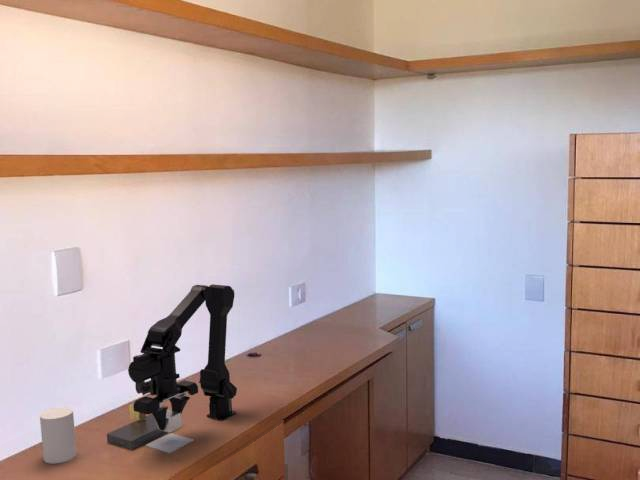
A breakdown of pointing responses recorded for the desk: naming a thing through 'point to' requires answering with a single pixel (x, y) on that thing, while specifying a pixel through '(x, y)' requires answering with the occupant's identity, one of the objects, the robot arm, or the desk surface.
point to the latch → (136, 414)
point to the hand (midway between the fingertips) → (169, 426)
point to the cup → (58, 435)
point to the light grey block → (171, 421)
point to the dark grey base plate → (136, 433)
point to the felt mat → (169, 443)
